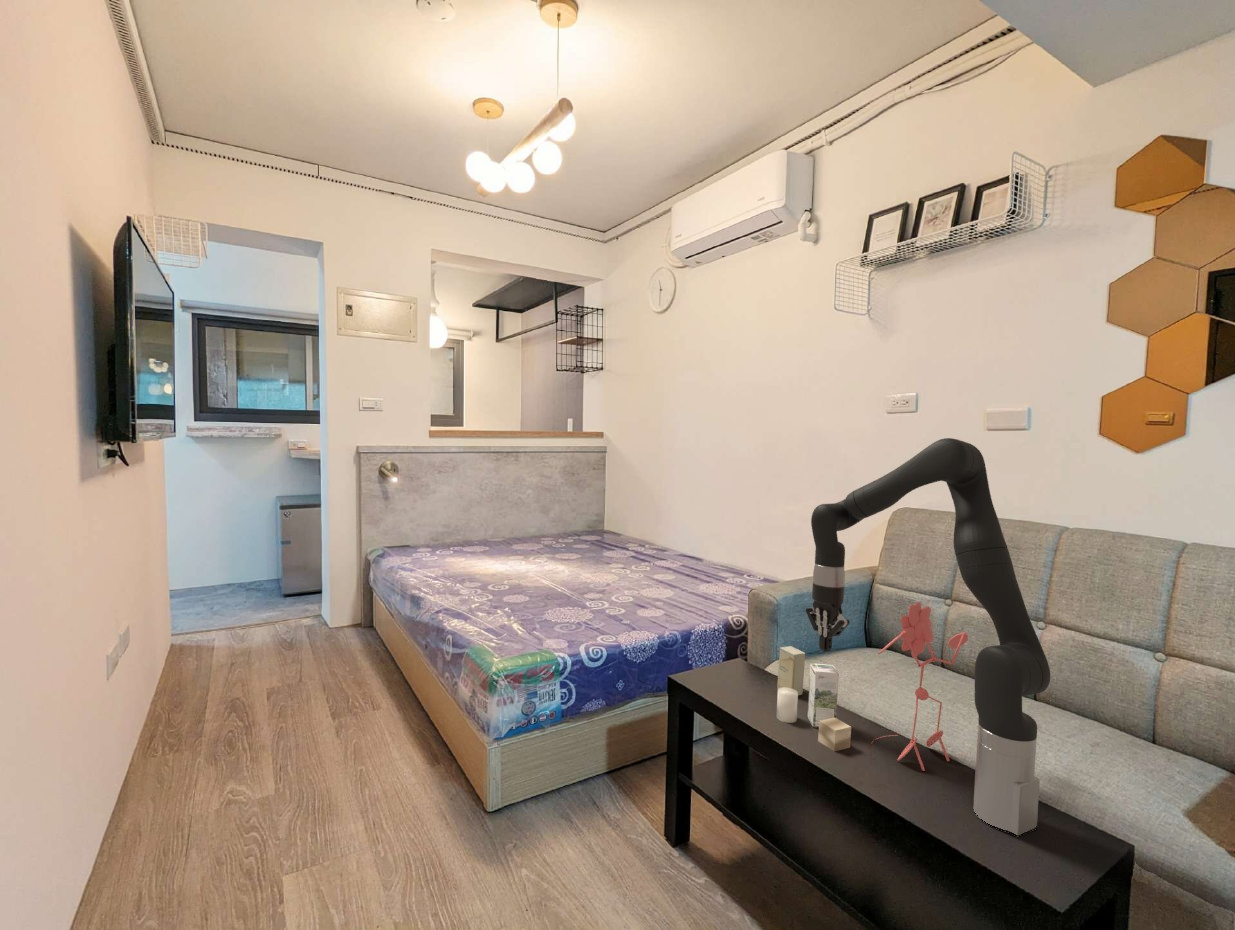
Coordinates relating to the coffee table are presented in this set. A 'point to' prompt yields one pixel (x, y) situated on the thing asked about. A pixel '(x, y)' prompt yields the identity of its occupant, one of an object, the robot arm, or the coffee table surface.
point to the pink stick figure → (914, 639)
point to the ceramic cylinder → (787, 705)
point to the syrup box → (822, 693)
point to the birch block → (834, 734)
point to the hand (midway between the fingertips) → (825, 650)
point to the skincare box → (791, 669)
